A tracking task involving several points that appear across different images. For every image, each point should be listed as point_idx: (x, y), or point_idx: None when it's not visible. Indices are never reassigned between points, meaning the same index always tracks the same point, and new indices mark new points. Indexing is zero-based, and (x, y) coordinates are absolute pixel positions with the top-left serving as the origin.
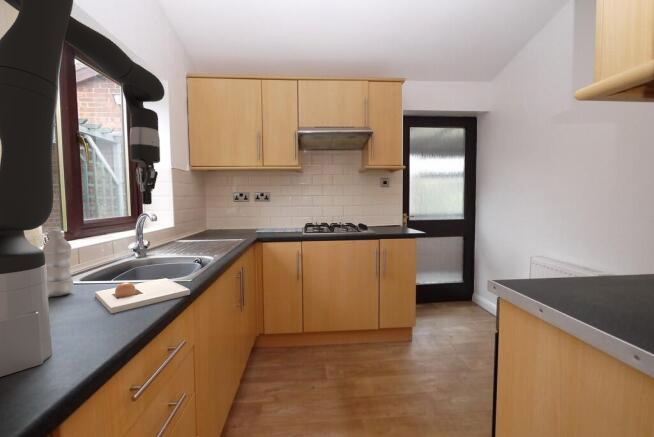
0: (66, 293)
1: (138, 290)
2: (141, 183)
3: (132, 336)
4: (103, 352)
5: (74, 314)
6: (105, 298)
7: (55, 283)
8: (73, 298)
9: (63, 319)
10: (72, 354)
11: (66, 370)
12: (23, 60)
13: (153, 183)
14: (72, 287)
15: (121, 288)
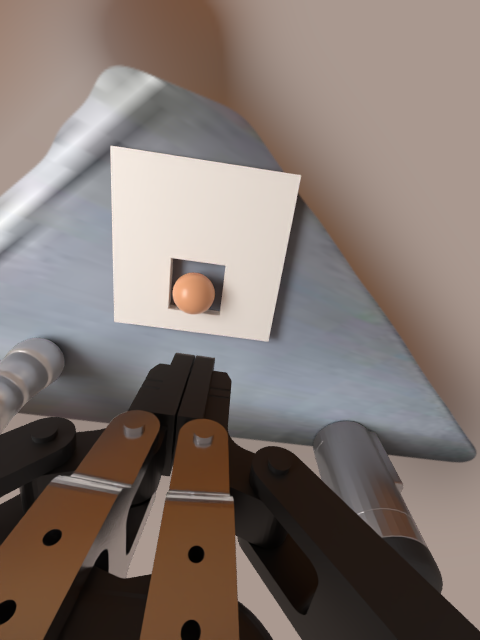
0: (60, 350)
1: (186, 259)
2: (126, 568)
3: (402, 354)
4: (411, 390)
5: None
6: (192, 326)
7: (49, 380)
8: (96, 345)
9: None
10: (378, 409)
11: (414, 422)
12: None
13: (339, 527)
14: (47, 344)
15: (205, 309)
